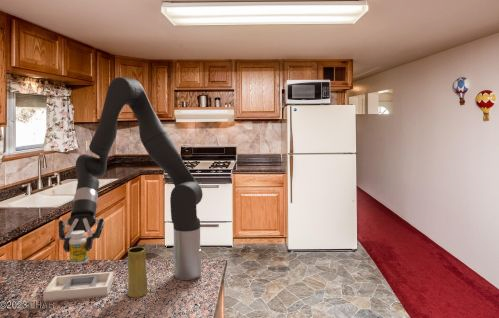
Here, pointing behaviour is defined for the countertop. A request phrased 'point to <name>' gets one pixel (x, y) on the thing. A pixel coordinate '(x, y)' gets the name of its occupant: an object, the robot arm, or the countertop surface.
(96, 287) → the walled box
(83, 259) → the supplement bottle
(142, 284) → the vase
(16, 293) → the countertop surface
